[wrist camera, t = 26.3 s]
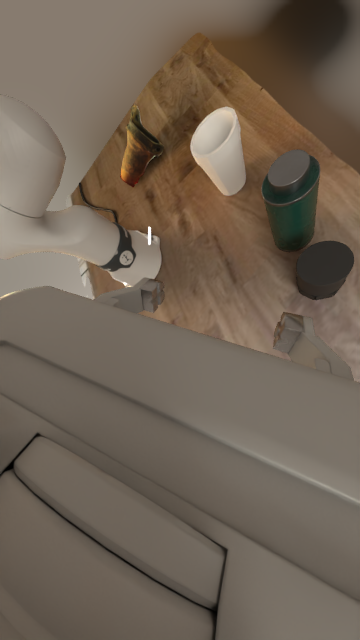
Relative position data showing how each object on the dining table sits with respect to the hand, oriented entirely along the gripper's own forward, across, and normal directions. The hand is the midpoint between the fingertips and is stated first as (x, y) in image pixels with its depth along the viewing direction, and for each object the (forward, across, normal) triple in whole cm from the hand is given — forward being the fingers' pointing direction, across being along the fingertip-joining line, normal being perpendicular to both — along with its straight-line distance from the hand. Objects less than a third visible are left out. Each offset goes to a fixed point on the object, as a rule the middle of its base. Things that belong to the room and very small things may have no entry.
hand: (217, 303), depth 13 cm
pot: (+64, +41, -6) cm, 77 cm away
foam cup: (+47, +9, -2) cm, 48 cm away
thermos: (+35, -7, +4) cm, 36 cm away
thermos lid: (+28, -13, +10) cm, 32 cm away
